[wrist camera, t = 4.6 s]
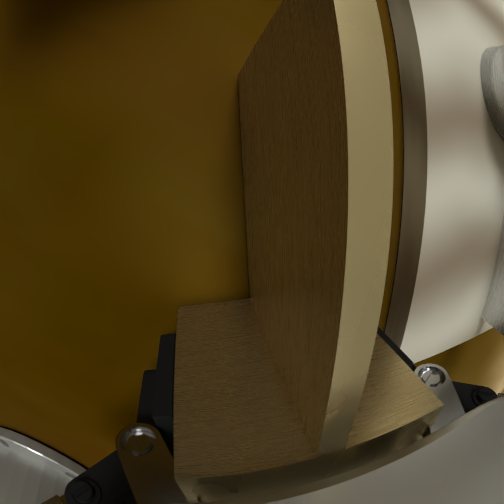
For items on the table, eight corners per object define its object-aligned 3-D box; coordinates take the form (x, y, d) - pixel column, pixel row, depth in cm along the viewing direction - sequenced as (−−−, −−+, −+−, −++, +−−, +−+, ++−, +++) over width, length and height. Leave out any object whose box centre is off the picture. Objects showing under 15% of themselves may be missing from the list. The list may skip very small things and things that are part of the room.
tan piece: (320, 391, 13) (379, 500, 7) (201, 411, 12) (218, 541, 6) (329, 79, 9) (486, 21, 2) (156, 80, 8) (91, -47, 1)
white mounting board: (510, 301, 16) (523, 309, 14) (379, 353, 14) (393, 370, 12) (515, 25, 8) (529, 23, 7) (368, -61, 6) (382, -74, 5)
